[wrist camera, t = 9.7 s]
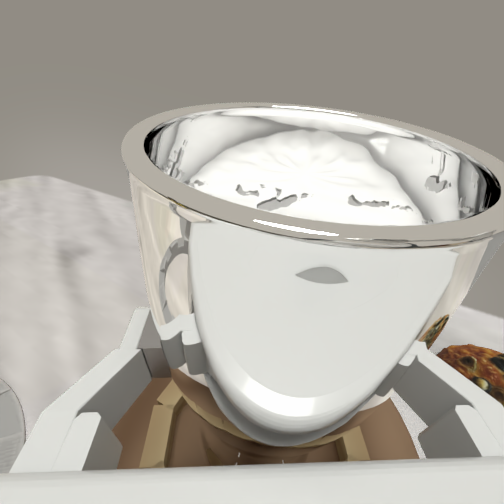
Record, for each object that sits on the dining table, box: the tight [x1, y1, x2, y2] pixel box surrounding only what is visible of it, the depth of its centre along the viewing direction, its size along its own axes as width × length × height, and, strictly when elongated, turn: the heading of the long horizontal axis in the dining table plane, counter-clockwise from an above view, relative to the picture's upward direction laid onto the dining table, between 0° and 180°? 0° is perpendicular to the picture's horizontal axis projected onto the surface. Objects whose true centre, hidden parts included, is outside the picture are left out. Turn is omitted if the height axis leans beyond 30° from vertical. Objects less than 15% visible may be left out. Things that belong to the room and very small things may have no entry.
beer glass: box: [121, 103, 504, 466], centre depth 10 cm, size 7×7×15 cm
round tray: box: [112, 378, 419, 469], centre depth 16 cm, size 20×20×3 cm
